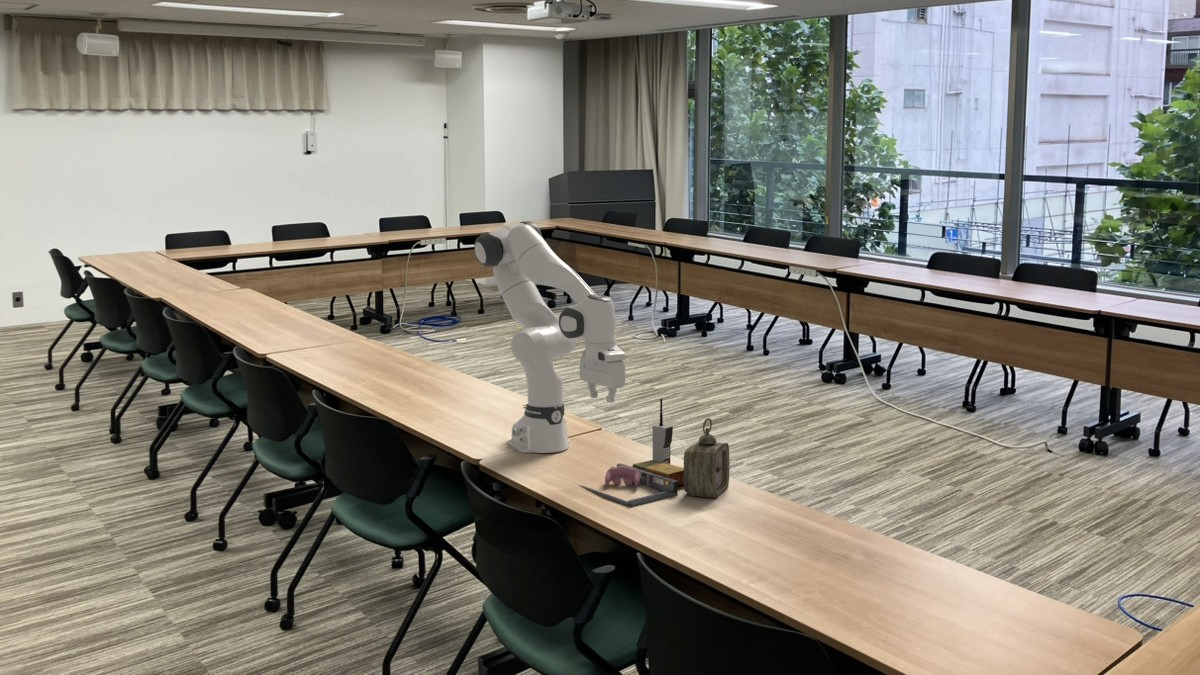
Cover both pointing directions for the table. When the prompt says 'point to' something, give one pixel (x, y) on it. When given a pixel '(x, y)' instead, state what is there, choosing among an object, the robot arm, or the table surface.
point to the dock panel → (650, 480)
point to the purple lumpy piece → (622, 475)
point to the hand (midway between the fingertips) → (602, 399)
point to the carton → (662, 470)
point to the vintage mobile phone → (662, 440)
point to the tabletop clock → (706, 466)
